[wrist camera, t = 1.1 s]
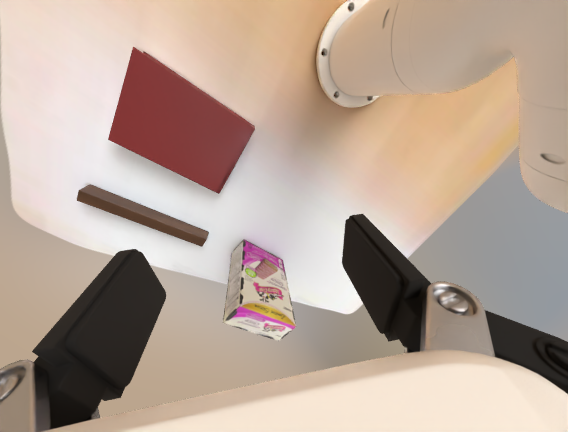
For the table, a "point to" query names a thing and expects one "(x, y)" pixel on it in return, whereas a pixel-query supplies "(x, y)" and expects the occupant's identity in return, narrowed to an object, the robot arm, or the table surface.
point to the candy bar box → (258, 293)
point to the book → (177, 124)
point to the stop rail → (141, 214)
